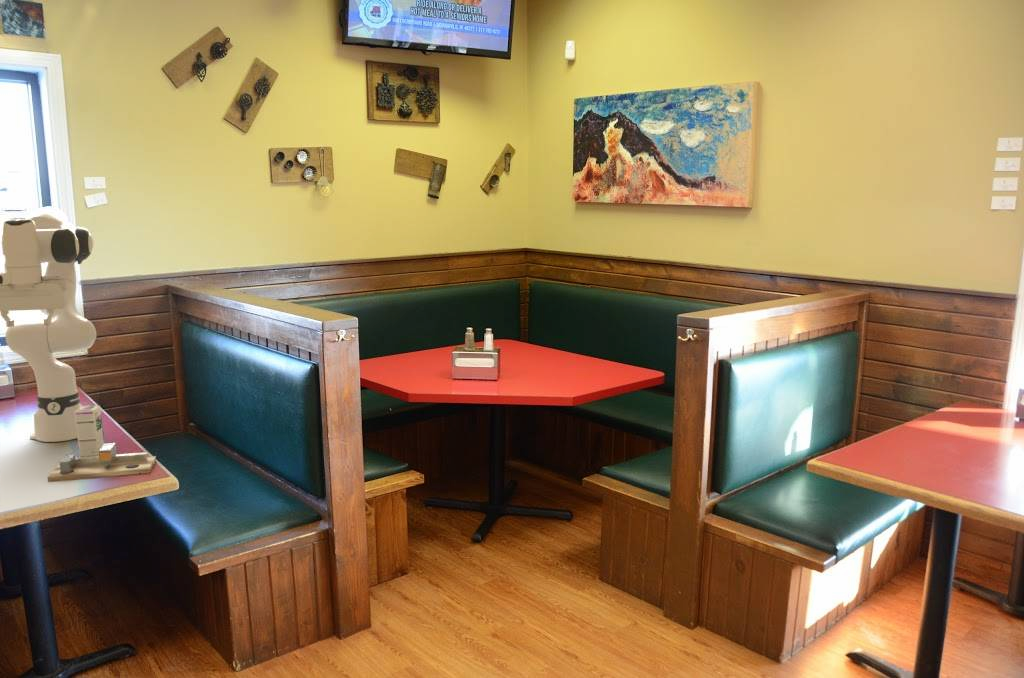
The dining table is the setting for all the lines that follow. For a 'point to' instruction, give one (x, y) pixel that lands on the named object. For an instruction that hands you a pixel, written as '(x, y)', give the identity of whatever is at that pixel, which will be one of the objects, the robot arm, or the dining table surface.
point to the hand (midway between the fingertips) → (29, 325)
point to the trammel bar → (97, 460)
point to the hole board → (104, 470)
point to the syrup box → (89, 430)
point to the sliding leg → (107, 453)
